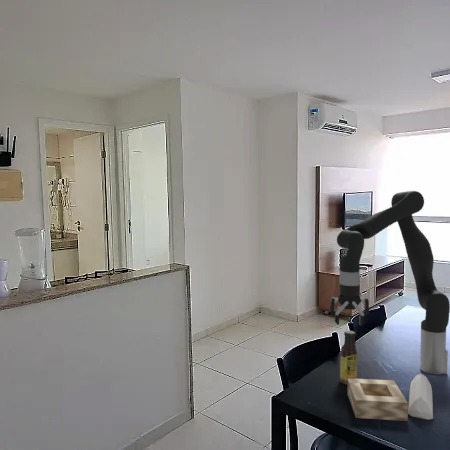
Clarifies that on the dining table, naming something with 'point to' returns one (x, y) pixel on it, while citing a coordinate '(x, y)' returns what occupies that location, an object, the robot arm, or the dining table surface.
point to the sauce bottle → (348, 358)
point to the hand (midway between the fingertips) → (349, 324)
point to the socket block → (377, 399)
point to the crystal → (420, 398)
